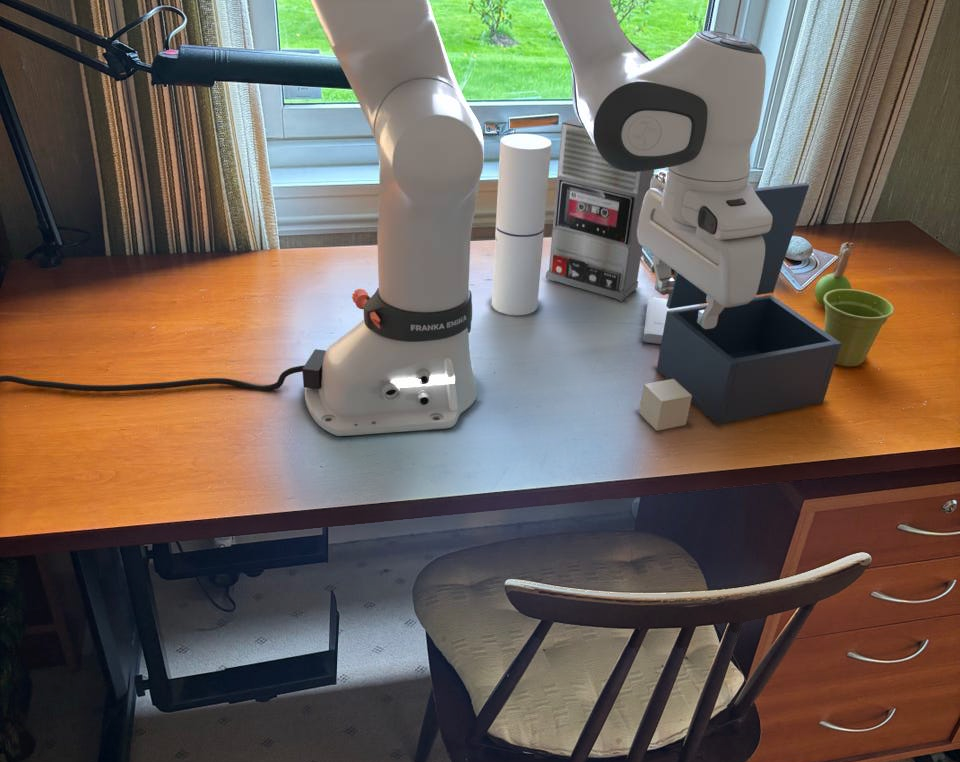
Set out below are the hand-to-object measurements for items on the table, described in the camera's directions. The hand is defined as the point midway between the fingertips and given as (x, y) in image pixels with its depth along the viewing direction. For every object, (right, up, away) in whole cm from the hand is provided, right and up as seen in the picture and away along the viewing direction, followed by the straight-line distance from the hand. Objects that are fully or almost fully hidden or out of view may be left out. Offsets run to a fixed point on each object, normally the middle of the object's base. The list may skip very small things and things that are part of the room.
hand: (684, 308), depth 109 cm
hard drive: (+5, +3, +30) cm, 30 cm away
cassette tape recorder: (-6, +11, +40) cm, 43 cm away
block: (-1, -13, +9) cm, 15 cm away
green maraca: (+31, +7, +37) cm, 49 cm away
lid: (+9, +10, +10) cm, 17 cm away
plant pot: (+28, -3, +24) cm, 37 cm away
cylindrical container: (-19, +7, +33) cm, 39 cm away
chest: (+11, -7, +16) cm, 21 cm away
